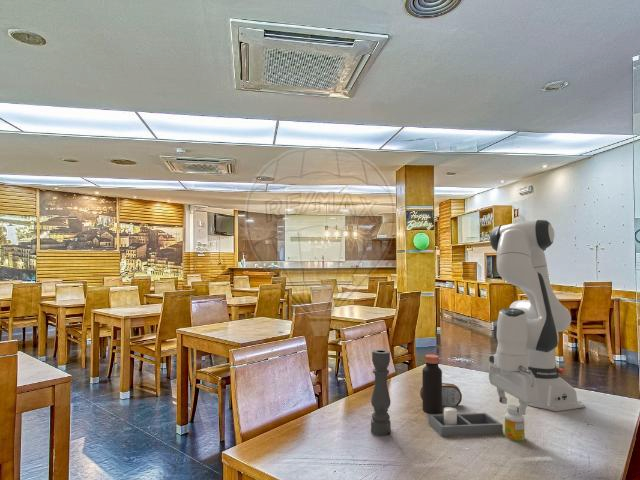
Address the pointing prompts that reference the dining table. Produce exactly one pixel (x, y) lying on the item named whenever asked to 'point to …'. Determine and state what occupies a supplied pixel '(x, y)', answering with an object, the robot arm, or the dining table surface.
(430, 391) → the vinegar
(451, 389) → the tin
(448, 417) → the shaker
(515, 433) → the supplement bottle
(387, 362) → the candle holder
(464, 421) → the caddy
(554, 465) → the dining table surface
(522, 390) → the robot arm
